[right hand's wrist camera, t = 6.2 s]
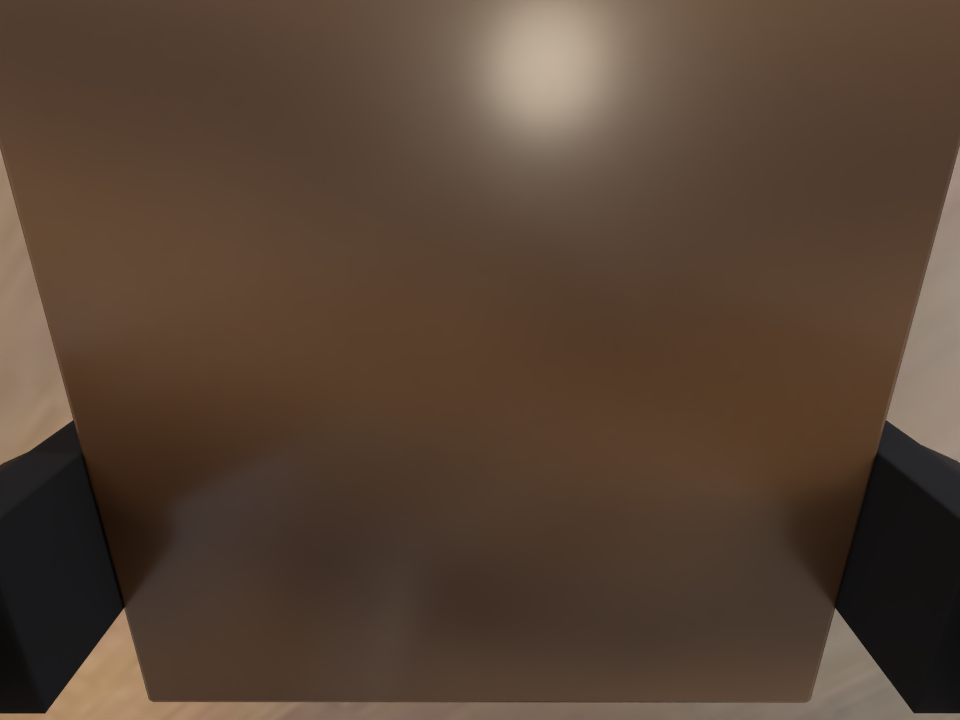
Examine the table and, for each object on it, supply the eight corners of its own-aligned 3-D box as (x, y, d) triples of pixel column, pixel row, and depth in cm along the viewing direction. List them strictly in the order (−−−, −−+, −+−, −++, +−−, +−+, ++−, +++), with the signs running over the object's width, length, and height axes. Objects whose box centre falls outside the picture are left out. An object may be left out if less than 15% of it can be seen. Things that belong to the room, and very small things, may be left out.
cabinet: (189, -393, 11) (-478, -1602, 3) (771, -394, 11) (1438, -1607, 3) (294, 451, 18) (147, 705, 10) (665, 452, 18) (812, 705, 10)
